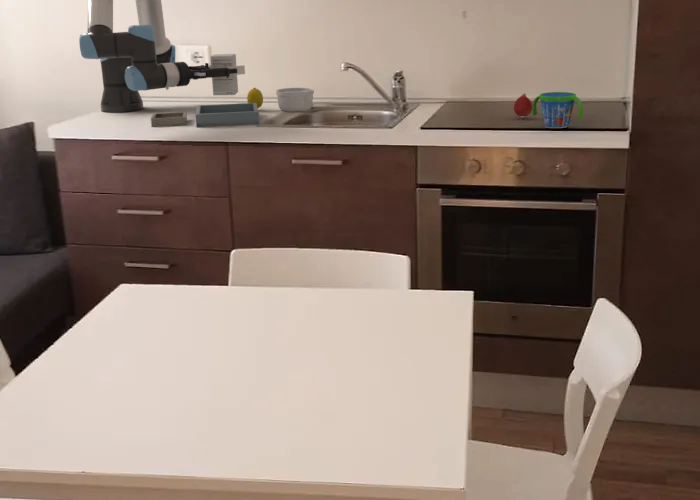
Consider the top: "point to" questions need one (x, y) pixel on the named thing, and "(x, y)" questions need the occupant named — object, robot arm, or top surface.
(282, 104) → the ramekin
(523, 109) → the onion
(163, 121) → the collar
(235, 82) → the supplement box
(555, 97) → the snack cup
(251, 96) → the lemon
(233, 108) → the tray
